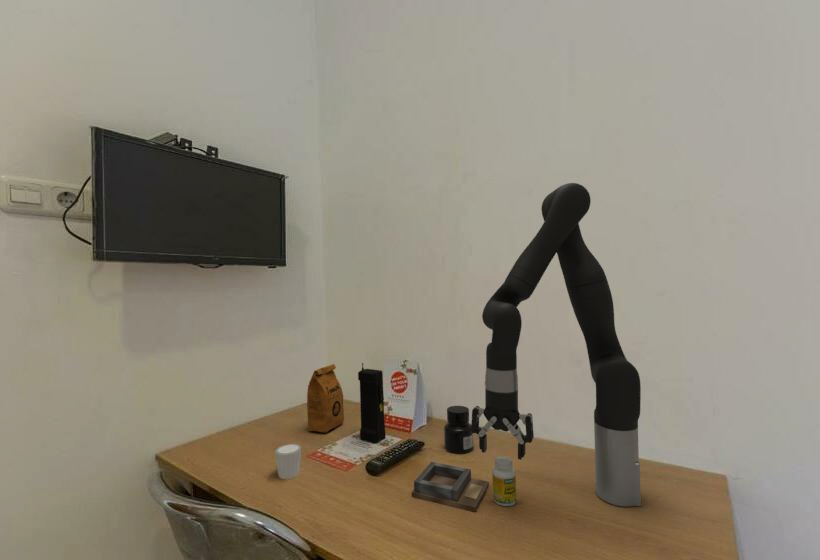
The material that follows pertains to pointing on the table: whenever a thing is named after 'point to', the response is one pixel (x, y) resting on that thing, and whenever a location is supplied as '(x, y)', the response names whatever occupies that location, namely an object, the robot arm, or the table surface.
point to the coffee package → (324, 400)
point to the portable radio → (371, 405)
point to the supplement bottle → (504, 482)
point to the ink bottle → (458, 430)
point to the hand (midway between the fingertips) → (501, 454)
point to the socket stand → (450, 486)
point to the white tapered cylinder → (288, 460)
